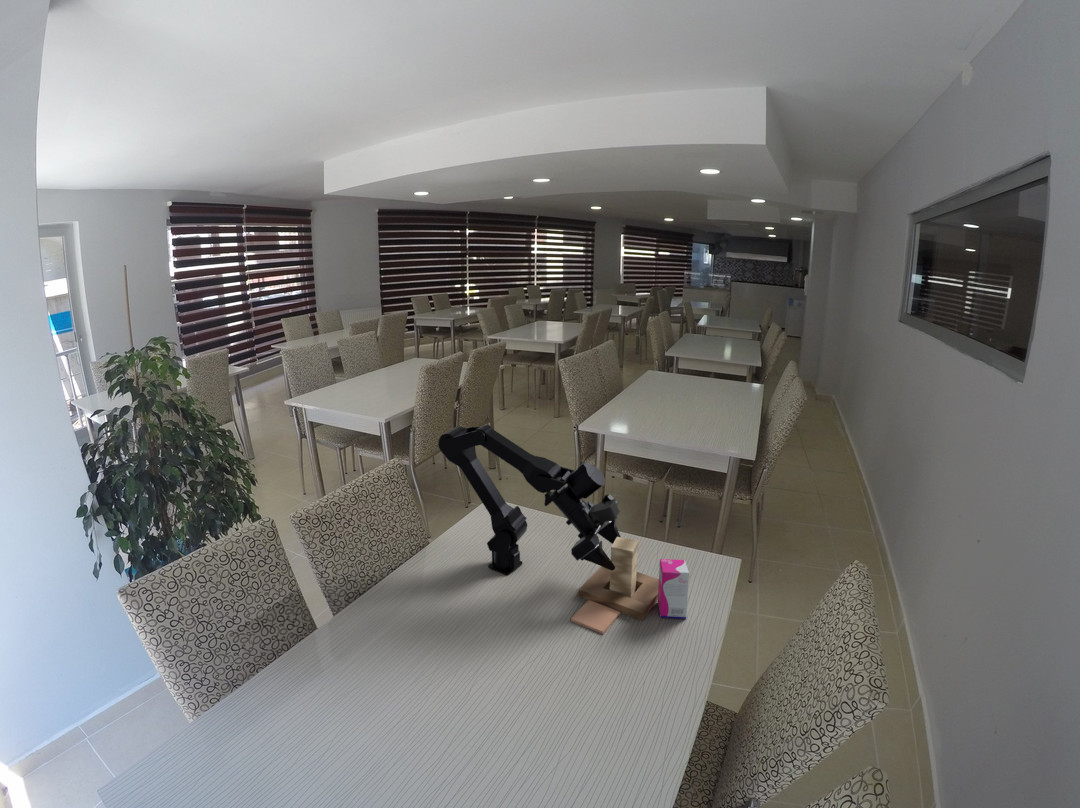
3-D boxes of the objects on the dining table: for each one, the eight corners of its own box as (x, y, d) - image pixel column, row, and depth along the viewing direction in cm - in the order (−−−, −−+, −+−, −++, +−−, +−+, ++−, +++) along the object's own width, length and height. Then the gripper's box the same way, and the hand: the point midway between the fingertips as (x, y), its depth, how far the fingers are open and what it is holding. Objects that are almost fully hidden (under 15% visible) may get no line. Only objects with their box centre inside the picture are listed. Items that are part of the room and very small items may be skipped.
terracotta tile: (570, 620, 124) (570, 618, 124) (588, 602, 131) (588, 599, 131) (603, 634, 120) (603, 631, 120) (620, 614, 126) (620, 611, 126)
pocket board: (578, 596, 133) (578, 589, 132) (606, 568, 144) (606, 561, 143) (642, 620, 124) (642, 613, 124) (666, 589, 135) (666, 581, 135)
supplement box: (682, 603, 130) (686, 559, 127) (686, 619, 125) (690, 574, 121) (656, 601, 131) (659, 557, 128) (659, 618, 125) (662, 572, 122)
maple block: (609, 596, 133) (611, 546, 129) (615, 584, 137) (617, 536, 134) (630, 601, 131) (632, 551, 127) (635, 589, 135) (638, 540, 132)
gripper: (585, 506, 121) (634, 562, 120) (609, 474, 138) (653, 523, 137) (551, 533, 126) (598, 587, 125) (578, 498, 143) (620, 546, 142)
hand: (619, 559), depth 132 cm, fingers open, 9 cm apart
